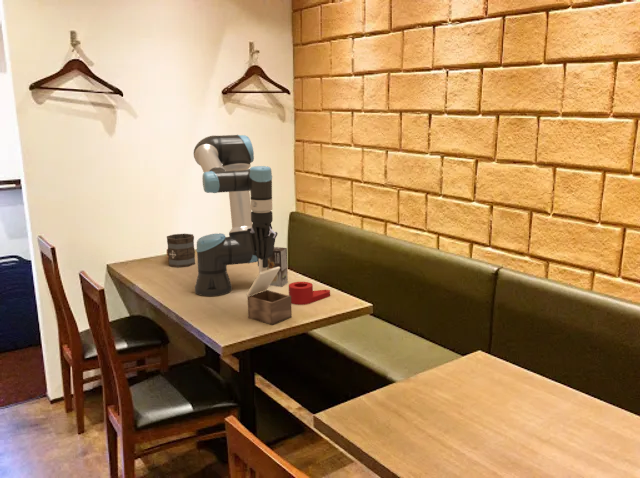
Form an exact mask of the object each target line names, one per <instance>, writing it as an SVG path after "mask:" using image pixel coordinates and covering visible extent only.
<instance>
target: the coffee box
mask: <svg viewBox="0 0 640 478" xmlns="http://www.w3.org/2000/svg"><path fill="white" fill-rule="evenodd" d="M275 267H280V269H279V271H278V273H277V274H276V276H275V277H274V279H273V281H272V282H271V284H270V286H273V287H280V288H281V287H284V286H286V285H287V284H289V274H288V273H289V272H288V248H287V247H279V246H274V250H273V255H272V257H270V258H268V267H267V270H268V269H272V268H275Z"/></svg>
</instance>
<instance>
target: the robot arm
mask: <svg viewBox="0 0 640 478" xmlns="http://www.w3.org/2000/svg"><path fill="white" fill-rule="evenodd" d="M254 154H255V153H254V148H253V144H252V141H251V139H250V137H249V136H248V135H245V134H244V135H243V134H241V135H239V134H230V135H229V134H228V135H225V134H224V135H209V136H207V137H206V136H205V137H204V138H202V139H201V140H200V141H198V142H197V144H196V145H195V147H194V149H193V158H194V161H195V162H196V163H197V165H199V166H200V167H201V169H202V172H203V174H202V186H203V191H204V192H205V193H209V194H210V193H211V194H218V193H228V197H229V206H230V218H231V229H230V230H229V231H228V235H229V236H226V234H224V233H220V232H219V233H211V234H206V235H203V236H201V237H200V238H198V239H197V241H196V250H195V252H196V257H197V258H196V259H197V276H196V277H197V278H196V281H195V285H194V293H195V294H197V295H199V296H204V297H215V296H221V295H226V294H229V293H231V292H232V291H233V290H232V289H233V286H232V282H231V280H230V277H229V274H228V271H227V270H228V269H227V268H228V267H227V266H230V265H231V266H233V265H243V264H253V263H257V267H258V274H259V273H260V272H263V271H266V270H267V267H268V258H270V257H272V255H273V250H274V247H275V243H276V238H277V236H278V232H277V231H275V230H273V226H272V222H273V175H272V168H271V167H270V166H265V165H257V166H251V164H252V163H254V159H255V156H254Z"/></svg>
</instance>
